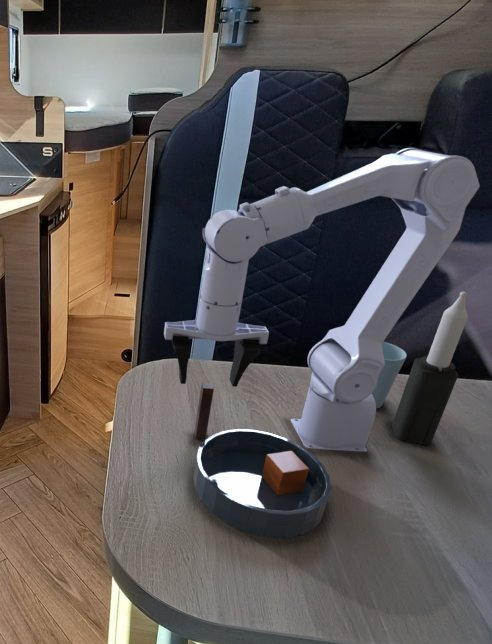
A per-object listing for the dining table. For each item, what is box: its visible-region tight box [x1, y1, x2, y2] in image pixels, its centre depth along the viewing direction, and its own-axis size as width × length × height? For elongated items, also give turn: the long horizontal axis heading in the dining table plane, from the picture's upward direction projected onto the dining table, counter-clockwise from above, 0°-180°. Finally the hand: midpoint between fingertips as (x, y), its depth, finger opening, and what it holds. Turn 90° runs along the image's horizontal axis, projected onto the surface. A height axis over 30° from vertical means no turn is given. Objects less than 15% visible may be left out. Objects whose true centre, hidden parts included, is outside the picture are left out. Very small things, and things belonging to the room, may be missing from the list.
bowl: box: [192, 428, 332, 539], centre depth 71 cm, size 17×17×4 cm
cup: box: [372, 341, 408, 409], centre depth 92 cm, size 8×8×10 cm
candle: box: [391, 291, 469, 447], centre depth 79 cm, size 5×5×25 cm
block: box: [262, 451, 309, 495], centre depth 72 cm, size 4×4×4 cm
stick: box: [193, 382, 215, 441], centre depth 81 cm, size 2×2×10 cm
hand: (207, 381), depth 79 cm, fingers open, 7 cm apart
